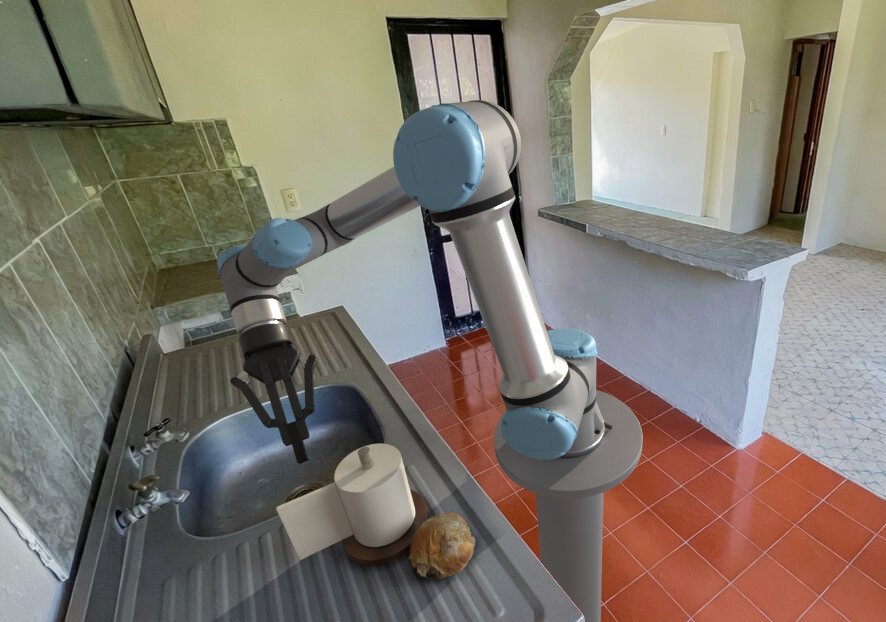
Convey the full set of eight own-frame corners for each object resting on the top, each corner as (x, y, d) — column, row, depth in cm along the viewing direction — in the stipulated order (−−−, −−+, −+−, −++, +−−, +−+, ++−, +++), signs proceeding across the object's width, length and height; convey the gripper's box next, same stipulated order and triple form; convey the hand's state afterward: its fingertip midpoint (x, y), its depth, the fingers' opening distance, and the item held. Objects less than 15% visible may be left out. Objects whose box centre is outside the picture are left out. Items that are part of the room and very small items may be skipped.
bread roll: (478, 578, 73) (493, 536, 71) (419, 599, 66) (433, 553, 64) (451, 535, 80) (464, 496, 78) (395, 549, 73) (407, 507, 71)
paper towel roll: (415, 489, 82) (401, 437, 77) (415, 537, 74) (401, 482, 68) (310, 514, 78) (288, 461, 73) (298, 568, 70) (272, 513, 64)
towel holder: (427, 485, 85) (410, 412, 77) (430, 551, 73) (411, 473, 65) (348, 504, 82) (322, 430, 74) (337, 577, 70) (305, 498, 62)
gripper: (307, 327, 85) (346, 447, 80) (224, 348, 79) (262, 480, 74) (302, 312, 78) (344, 442, 73) (212, 335, 72) (252, 478, 67)
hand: (303, 461), depth 74 cm, fingers closed
